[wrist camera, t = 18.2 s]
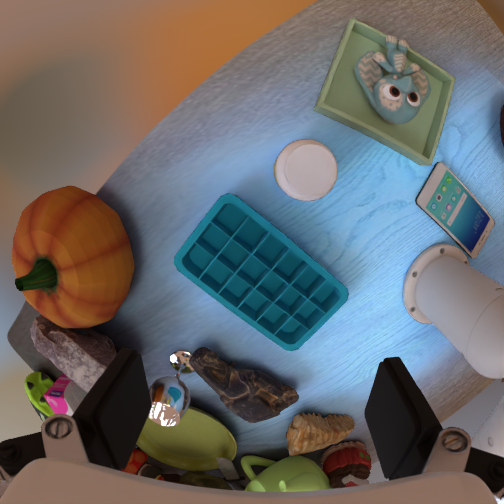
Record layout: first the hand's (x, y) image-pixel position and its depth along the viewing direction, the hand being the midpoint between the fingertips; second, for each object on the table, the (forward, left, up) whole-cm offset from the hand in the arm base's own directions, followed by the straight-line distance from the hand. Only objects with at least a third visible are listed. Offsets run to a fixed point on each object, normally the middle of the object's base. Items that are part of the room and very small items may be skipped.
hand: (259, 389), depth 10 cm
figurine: (+14, +54, -25) cm, 61 cm away
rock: (+24, +30, -22) cm, 44 cm away
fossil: (-22, +33, -26) cm, 47 cm away
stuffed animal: (-6, -31, -24) cm, 39 cm away
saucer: (0, +40, -28) cm, 49 cm away
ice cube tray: (-2, +5, -28) cm, 29 cm away
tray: (-8, -24, -28) cm, 38 cm away
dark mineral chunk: (-11, +26, -26) cm, 38 cm away
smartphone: (-25, -14, -28) cm, 40 cm away
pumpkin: (+23, +11, -28) cm, 38 cm away
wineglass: (+4, +23, -28) cm, 37 cm away
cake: (-32, +35, -28) cm, 55 cm away
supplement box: (+20, +35, -28) cm, 49 cm away
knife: (-15, +47, -26) cm, 56 cm away
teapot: (-28, +41, -22) cm, 54 cm away
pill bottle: (-1, -9, -28) cm, 30 cm away
